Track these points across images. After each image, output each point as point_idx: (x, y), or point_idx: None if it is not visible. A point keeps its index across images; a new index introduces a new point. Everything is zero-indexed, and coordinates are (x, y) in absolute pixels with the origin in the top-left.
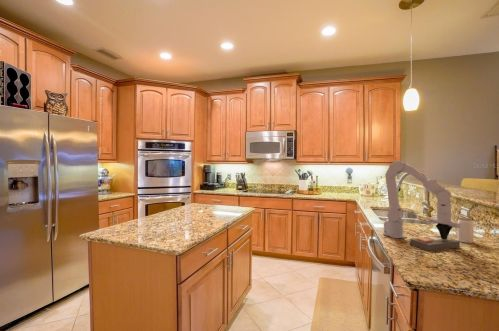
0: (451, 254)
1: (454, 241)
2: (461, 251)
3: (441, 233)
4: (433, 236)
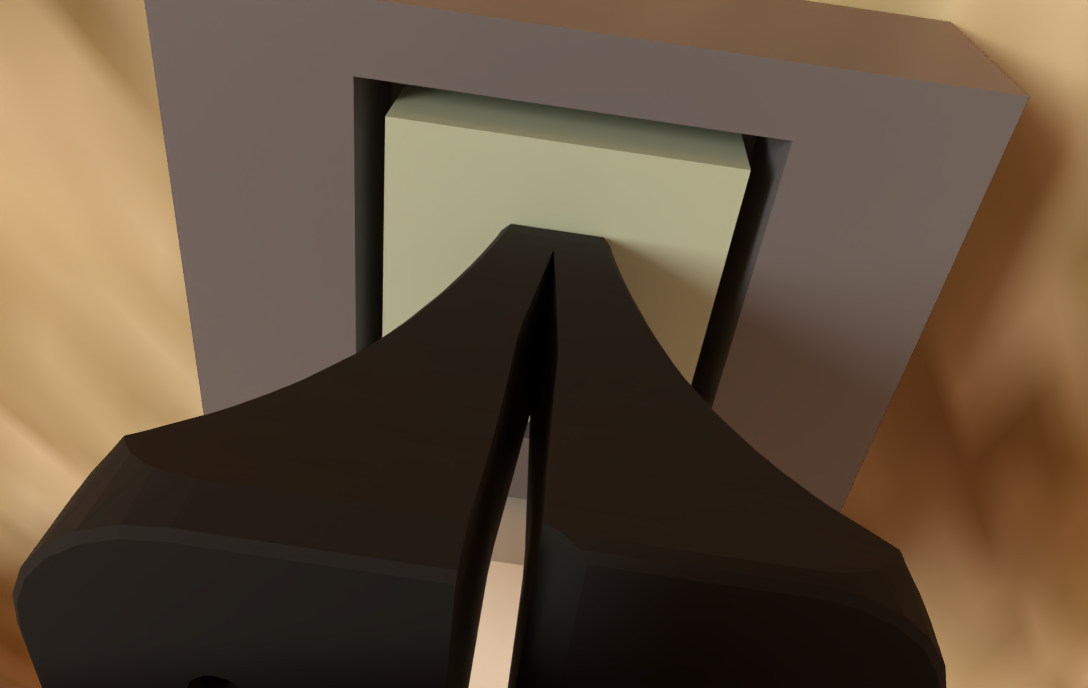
0: (975, 678)
1: (900, 301)
2: (1084, 380)
3: (496, 532)
4: (195, 297)
